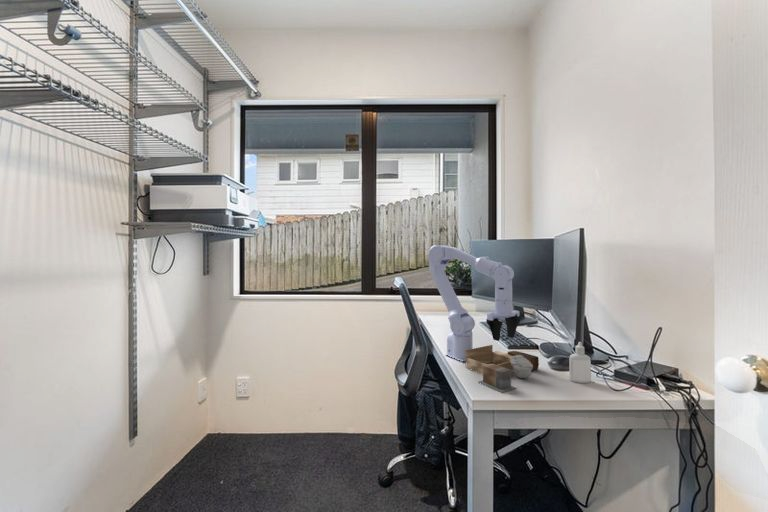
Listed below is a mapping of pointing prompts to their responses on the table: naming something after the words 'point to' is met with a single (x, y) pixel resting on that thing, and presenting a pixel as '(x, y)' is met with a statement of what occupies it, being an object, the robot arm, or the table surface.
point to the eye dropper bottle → (579, 366)
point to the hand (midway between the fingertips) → (503, 338)
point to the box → (497, 376)
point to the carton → (486, 358)
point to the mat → (497, 388)
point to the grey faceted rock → (521, 366)
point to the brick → (531, 358)
